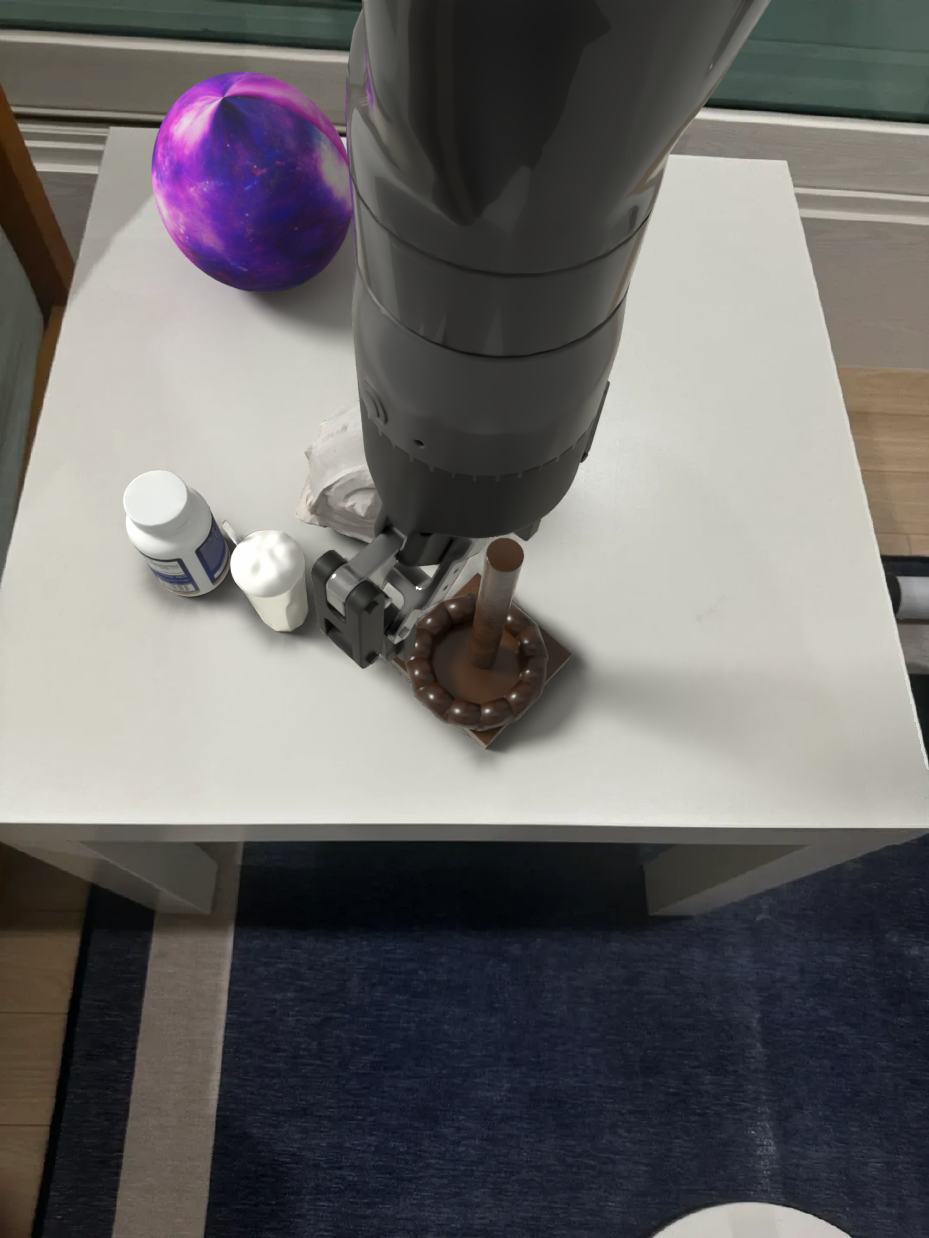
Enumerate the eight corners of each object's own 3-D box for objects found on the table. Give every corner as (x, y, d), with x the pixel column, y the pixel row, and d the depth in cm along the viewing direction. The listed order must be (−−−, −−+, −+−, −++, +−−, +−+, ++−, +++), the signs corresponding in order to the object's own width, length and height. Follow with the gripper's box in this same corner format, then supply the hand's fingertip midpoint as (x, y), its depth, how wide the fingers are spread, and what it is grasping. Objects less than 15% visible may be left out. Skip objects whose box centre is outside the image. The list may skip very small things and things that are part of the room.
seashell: (422, 388, 69) (424, 299, 59) (473, 538, 64) (483, 467, 55) (272, 420, 67) (249, 334, 57) (312, 577, 62) (295, 510, 53)
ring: (472, 575, 61) (473, 564, 60) (573, 662, 59) (578, 653, 58) (377, 666, 58) (376, 658, 57) (481, 761, 56) (483, 755, 55)
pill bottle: (210, 518, 63) (176, 445, 54) (244, 575, 62) (216, 509, 53) (142, 553, 62) (96, 484, 53) (176, 611, 60) (134, 550, 51)
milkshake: (272, 564, 62) (247, 495, 53) (330, 605, 61) (315, 542, 52) (230, 610, 61) (197, 548, 51) (289, 653, 60) (266, 597, 50)
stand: (476, 578, 63) (498, 449, 47) (569, 659, 61) (625, 553, 45) (390, 662, 60) (382, 555, 44) (484, 749, 58) (512, 670, 42)
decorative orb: (181, 198, 74) (129, 23, 60) (354, 193, 76) (341, 22, 62) (178, 336, 69) (119, 180, 55) (364, 329, 70) (352, 174, 56)
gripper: (405, 599, 23) (408, 742, 38) (720, 301, 27) (610, 536, 42) (215, 430, 24) (291, 631, 39) (542, 174, 29) (497, 444, 44)
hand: (456, 582), depth 41 cm, fingers open, 8 cm apart
